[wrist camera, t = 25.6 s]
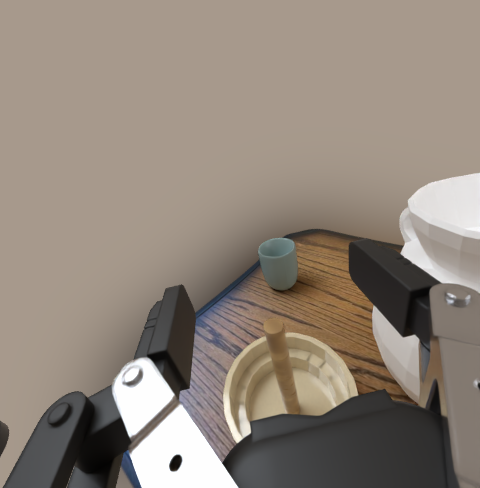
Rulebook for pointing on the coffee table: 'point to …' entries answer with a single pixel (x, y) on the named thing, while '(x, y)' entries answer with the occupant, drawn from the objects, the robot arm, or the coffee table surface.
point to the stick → (282, 364)
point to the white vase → (434, 260)
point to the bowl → (266, 386)
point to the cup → (279, 263)
